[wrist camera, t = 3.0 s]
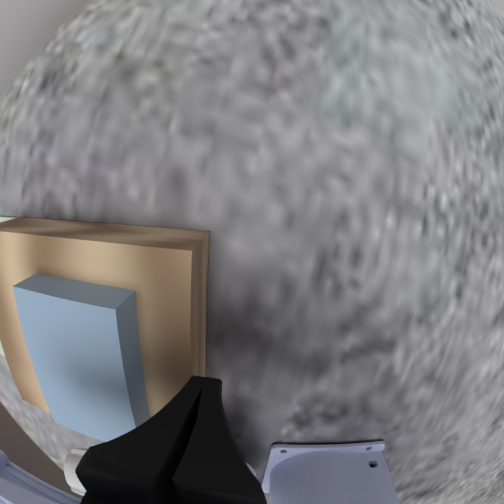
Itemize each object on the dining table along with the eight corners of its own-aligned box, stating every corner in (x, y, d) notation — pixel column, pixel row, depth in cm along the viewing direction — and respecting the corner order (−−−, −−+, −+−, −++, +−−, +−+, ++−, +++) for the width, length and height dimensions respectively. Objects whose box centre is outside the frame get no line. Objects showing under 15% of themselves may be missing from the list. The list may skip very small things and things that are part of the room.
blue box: (135, 290, 12) (115, 309, 10) (152, 429, 15) (142, 453, 13) (36, 272, 12) (12, 286, 10) (68, 403, 15) (54, 422, 13)
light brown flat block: (209, 231, 16) (191, 250, 12) (205, 414, 19) (195, 455, 15) (18, 217, 16) (-22, 229, 12) (47, 372, 19) (22, 399, 15)
